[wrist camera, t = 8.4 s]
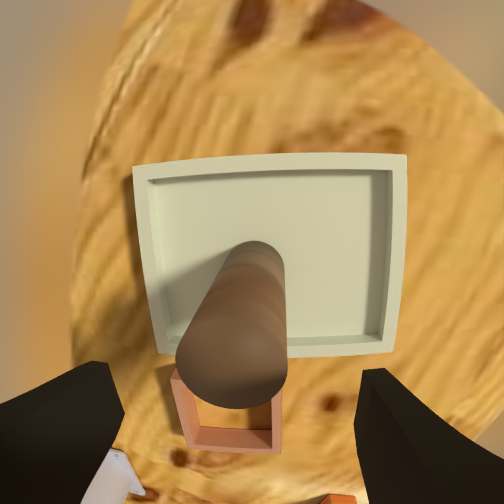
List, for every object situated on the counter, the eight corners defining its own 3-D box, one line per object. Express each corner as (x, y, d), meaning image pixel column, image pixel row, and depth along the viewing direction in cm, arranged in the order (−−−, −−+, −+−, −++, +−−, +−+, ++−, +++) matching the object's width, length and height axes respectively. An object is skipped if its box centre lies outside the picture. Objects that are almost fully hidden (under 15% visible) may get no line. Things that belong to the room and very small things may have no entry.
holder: (193, 430, 22) (187, 448, 20) (178, 361, 20) (169, 378, 18) (281, 434, 21) (281, 453, 19) (282, 364, 19) (281, 383, 17)
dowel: (227, 297, 18) (184, 405, 9) (222, 241, 17) (167, 317, 8) (284, 296, 17) (286, 409, 9) (283, 239, 17) (287, 318, 8)
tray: (166, 341, 20) (158, 353, 18) (144, 166, 17) (132, 166, 15) (385, 338, 18) (392, 351, 17) (396, 155, 15) (406, 154, 14)
